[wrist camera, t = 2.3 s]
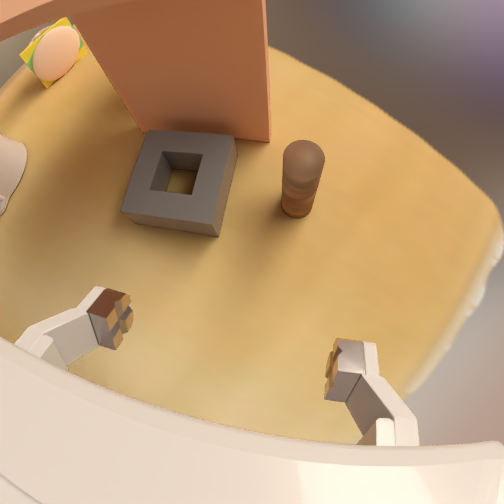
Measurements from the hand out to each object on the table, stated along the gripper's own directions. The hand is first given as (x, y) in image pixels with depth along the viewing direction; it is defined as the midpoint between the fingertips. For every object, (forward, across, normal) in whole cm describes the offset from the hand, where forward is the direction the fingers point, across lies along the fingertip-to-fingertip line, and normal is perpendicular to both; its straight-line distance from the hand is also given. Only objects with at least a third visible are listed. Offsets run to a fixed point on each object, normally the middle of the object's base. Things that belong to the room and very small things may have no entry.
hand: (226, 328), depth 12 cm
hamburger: (+49, -52, +11) cm, 73 cm away
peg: (+31, +2, -7) cm, 32 cm away
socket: (+30, -13, -8) cm, 34 cm away
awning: (+33, -13, -5) cm, 36 cm away
